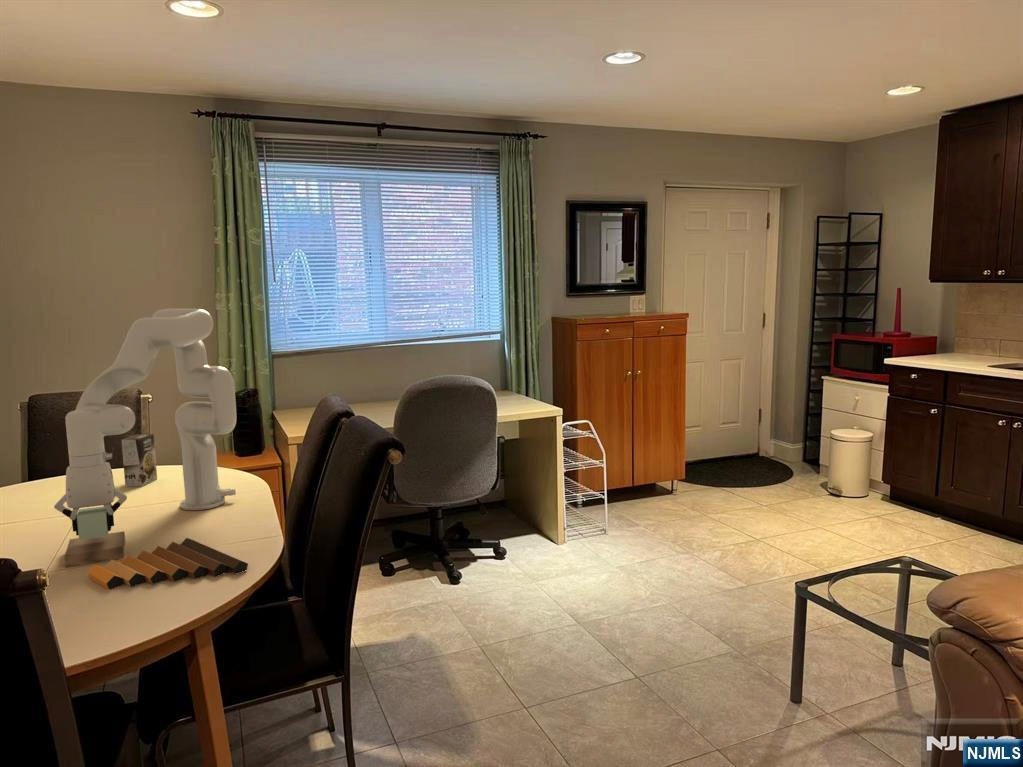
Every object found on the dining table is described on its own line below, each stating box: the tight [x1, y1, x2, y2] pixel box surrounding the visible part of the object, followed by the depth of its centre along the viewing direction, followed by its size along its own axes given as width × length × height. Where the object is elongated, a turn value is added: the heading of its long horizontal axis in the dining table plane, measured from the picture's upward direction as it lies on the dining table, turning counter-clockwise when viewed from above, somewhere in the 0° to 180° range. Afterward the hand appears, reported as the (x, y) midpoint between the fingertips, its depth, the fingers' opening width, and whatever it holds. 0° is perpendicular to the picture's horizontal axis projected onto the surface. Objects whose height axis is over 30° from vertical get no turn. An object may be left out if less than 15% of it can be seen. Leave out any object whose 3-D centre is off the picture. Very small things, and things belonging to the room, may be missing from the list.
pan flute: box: [87, 537, 249, 590], centre depth 161 cm, size 25×3×25 cm
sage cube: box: [77, 505, 110, 540], centre depth 172 cm, size 6×6×6 cm
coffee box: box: [121, 433, 158, 488], centre depth 236 cm, size 9×6×16 cm
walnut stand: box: [64, 531, 126, 568], centre depth 173 cm, size 12×12×3 cm
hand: (94, 530), depth 172 cm, fingers closed on sage cube, 6 cm apart
